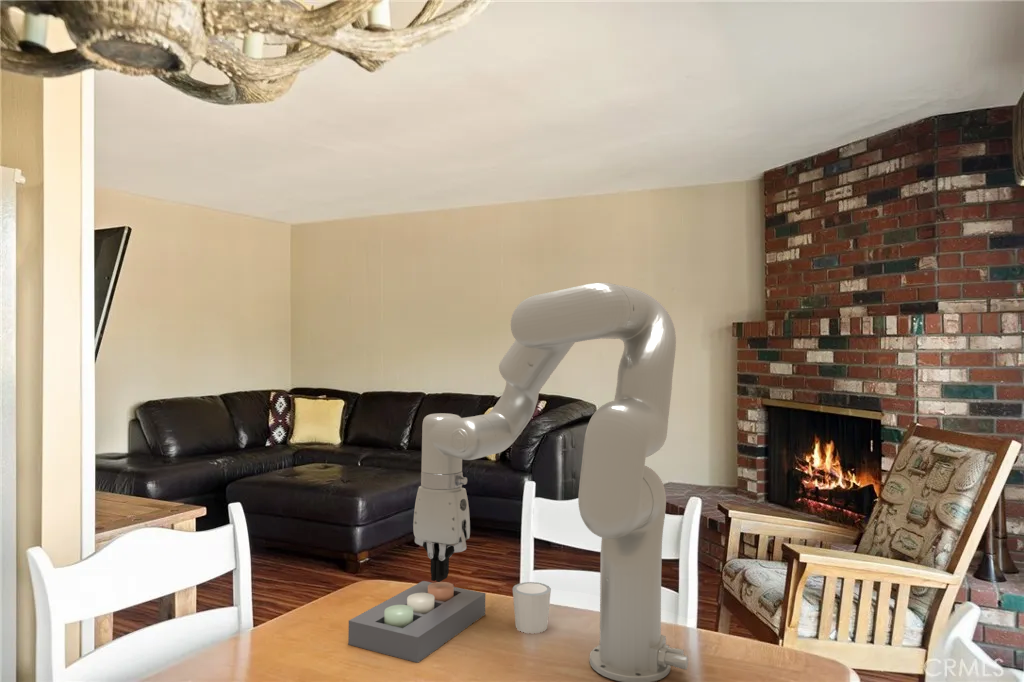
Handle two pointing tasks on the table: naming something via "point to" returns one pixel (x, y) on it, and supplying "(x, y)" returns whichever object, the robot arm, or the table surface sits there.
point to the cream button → (421, 602)
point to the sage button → (398, 615)
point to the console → (416, 624)
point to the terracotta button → (441, 591)
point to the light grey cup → (531, 606)
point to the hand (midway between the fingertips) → (439, 578)
